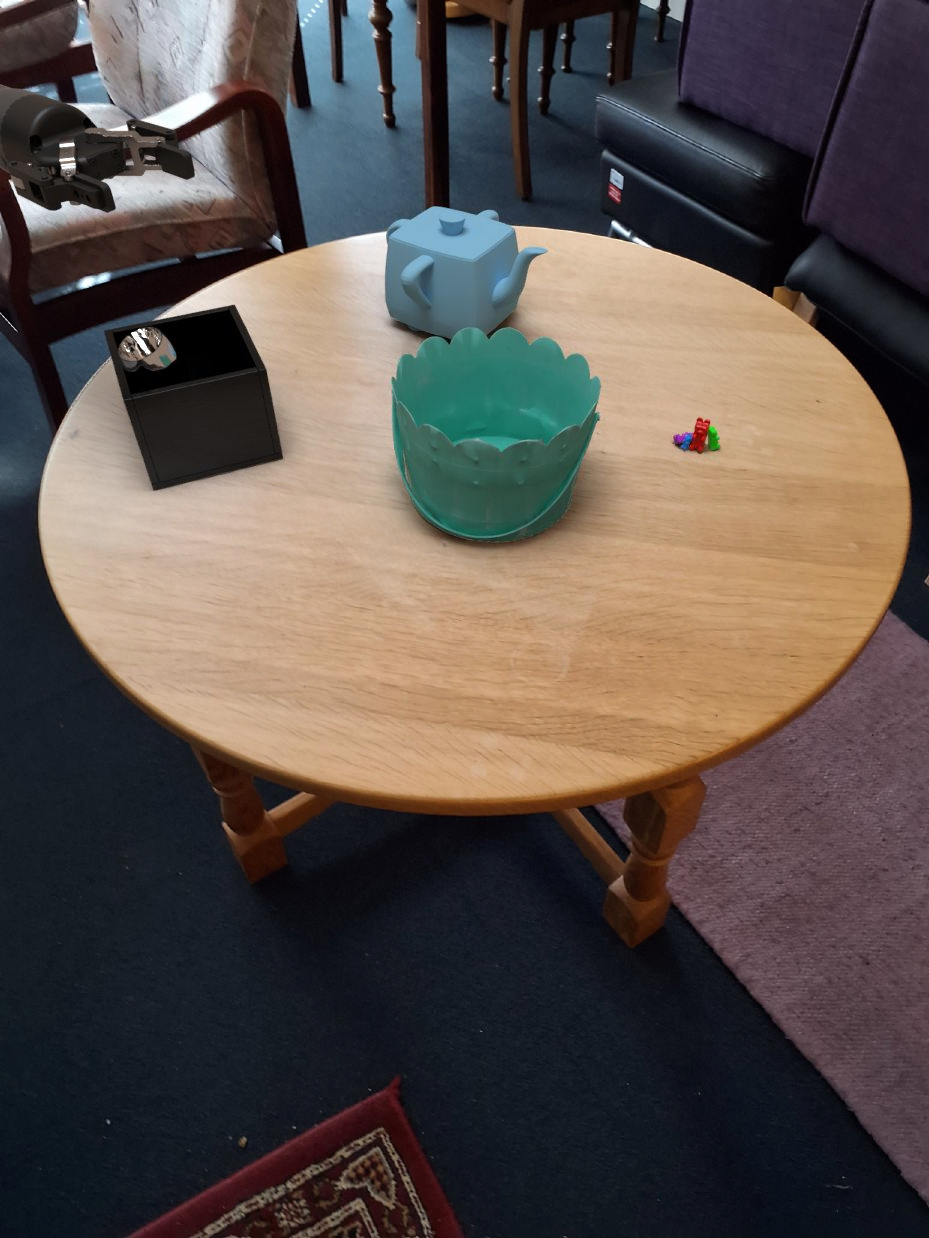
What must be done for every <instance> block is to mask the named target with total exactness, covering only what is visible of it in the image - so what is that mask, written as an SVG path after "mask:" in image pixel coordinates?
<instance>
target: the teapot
mask: <svg viewBox="0 0 929 1238" xmlns="http://www.w3.org/2000/svg"><path fill="white" fill-rule="evenodd" d="M385 237H386V238H385V240H386V244H387V247H386V256H385V267H384V298H385V299H384V300H385V305H386V308H387V311H388V314H389V316H390V317H391V318H392V319H393V320H396V321H397V322H400V323H403V324H405V325H407V327H408V328H409V329H410V330H411V331H416V332H417V331H418V332H419V331H421V332H422V331H423V332H426V333H429V334H433V335H435V336H438V337H441V338H445V339H450V342H451V341H452V339H453V337H454V336H455V334H456V333H457V332H458V331H460V330H462V329H464V328H469V327H472V328H478V329H480V330H481V331H482V332H484V333H485V334H486V336H488V335H489V334H490V333H491V332H492V331H494V330H495V329H496V328H497V327H498V326H500V325H501V324H502V323H503V322H504V321H505V320H506V319H507V318H508V317H509V316H511V314H512V313H514V311H515V310H516V309H517V306H518V303H519V299H520V296H521V295H522V293H523V291H524V288H525V286H526V282H527V277H528V271H529V268H530V265H531V263H532V262H533V260H534V259H536V258H537V257H539V256H541V255H544V254H547V253H548V252H549V250H548V249H547V248H544V247H540V246H528V247H524V248H523V249H522V250H520V251H519V245H518V239H517V238H518V237H517V232H516V229H515V228H514V227H513V226H512V225H510V224H507V223H504V222H501V221H500V217H499V214H498V212H497V211H496V210H493V209H486V210H482V211H481V212H480V213H478V214H473V213H470V212H467V211H461V210H457V209H452V208H448V207H444V206H431V207H429V208H428V209H426V210H424V211H422V212H421V213H419V214H417V215H416V216H415V217H413V218H412V219H408V218H401V219H397V220H395V221H394V222H392V223H391V224H390V226H389V227H388V228H387V230H386V234H385Z"/></svg>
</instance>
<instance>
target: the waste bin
mask: <svg viewBox="0 0 929 1238" xmlns="http://www.w3.org/2000/svg"><path fill="white" fill-rule="evenodd" d="M145 327H153V328H157V329H159V330H160V331H161V332H162V333H163V334H164V335H166V336H167V337H168V338H169V339H170V340H171V341H172V342H173V343H174V344H175V345H176V347H177V348H178V349H179V350H180V352H181V353H182V355H183V356H184V358H185V360H186V362H187V365H188V367H189V381H188V382H185V383H181V384H176V385H172V386H167V387H162V388H158V389H153V390H149V391H144V392H140V393H139V392H138V391H137V390H136V389H135V388H134V387H133V385H132V384H131V382H130V381H129V379H128V377H127V375H126V373H125V371H124V369H123V366H122V364H121V361H120V358H119V355H118V348H119V345H120V343H121V342H122V341H123V339H124V338H125V337H126V336H128V335H129V334H130V333H132V332H134V331H136V330H138V329H141V328H145ZM103 333H104V336H105V340H106V344H107V348H108V351H109V355H110V358H111V361H112V365H113V369H114V373H115V377H116V379H117V383H118V387H119V390H120V394H121V397H122V401H123V404H124V406H125V407H124V408H125V410H126V413H127V416H128V419H129V422H130V425H131V428H132V431H133V434H134V437H135V440H136V443H137V445H138V450H139V452H140V455H141V458H142V461H143V464H144V467H145V469H146V473H147V475H148V478H149V481H150V484H151V488H152V490H153V491H157V490H161V489H166V488H170V487H175V486H177V485H182V484H185V483H190V482H194V481H198V480H202V479H206V478H210V477H214V476H218V475H223V474H226V473H231V472H233V471H234V472H235V471H238V470H242V469H247V468H251V467H254V466H259V465H262V464H267V463H271V462H274V461H279V460H282V459H284V453H283V449H282V443H281V439H280V434H279V433H280V432H279V428H278V422H277V418H276V411H275V406H274V402H273V397H272V392H271V390H272V389H271V385H270V381H269V377H268V376H269V375H268V370H267V367H266V365H265V363H264V361H263V359H262V357H261V355H260V352H259V351H258V348H257V347H256V344H255V342H254V341H253V338H252V337H251V335H250V332H249V330H248V329H247V327H246V324H245V322H244V321H243V319H242V316H241V314H240V312H239V310H238V307H237V306H236V304H230V305H224V306H220V307H215V308H208V309H204V310H199V311H195V312H190V313H184V314H179V315H175V316H170V317H165V318H159V319H154V320H150V321H144V322H139V323H135V324H130V325H124V326H118V327H115V328H114V327H113V328H110V329H109V328H108V329H104V330H103Z"/></svg>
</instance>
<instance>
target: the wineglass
mask: <svg viewBox="0 0 929 1238" xmlns="http://www.w3.org/2000/svg"><path fill="white" fill-rule="evenodd" d="M118 355H119V358H120V361H121V364H122V366H123V369H124V371H125V373H126V375H127V377H128V379H129V381H130V382H131V384H132V385H133V387H134V388H135V389H136V390H137V391H138V392H139V393H140V392H144V391H149V390H153V389H158V388H162V387H167V386H172V385H176V384H181V383H185V382H188V381H189V367H188V365H187V362H186V360H185V358H184V356H183V355H182V353H181V352H180V350H179V349H178V348H177V347H176V345H175V344H174V343H173V342H172V341H171V340H170V339H169V338H168V337H167V336H166V335H164V334H163V333H162V332H161V331H160V330H159V329H157V328H153V327H145V328H141V329H138V330H136V331H134V332H132V333H130V334H129V335H128V336H126V337H125V338H124V339H123V341H122V342H121V343H120V345H119V348H118Z"/></svg>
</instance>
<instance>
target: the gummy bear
mask: <svg viewBox="0 0 929 1238" xmlns="http://www.w3.org/2000/svg"><path fill="white" fill-rule="evenodd" d="M710 425H711V420H710V419H708V418H707V419H704V418H703V417H697V418H696V422H695V424H694V431H693V432H688V431H686V432H683V433H681V434H680V433H677V434H674V435H673V436H672V437H673V438H672V439H673V444H674V445H680V444H682V445H680V448H681V449H683V451H685V450H691V451H693V450H697V452H698V453H702V452H703V450H704V449H705V446H706V440H707V444H708V447H709V449H710V451H715V450H719V449H721V444H719V440H720V439H721V438H720V437H721V436H718V434H719V432H718V430H716V427H715V426H710Z"/></svg>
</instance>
